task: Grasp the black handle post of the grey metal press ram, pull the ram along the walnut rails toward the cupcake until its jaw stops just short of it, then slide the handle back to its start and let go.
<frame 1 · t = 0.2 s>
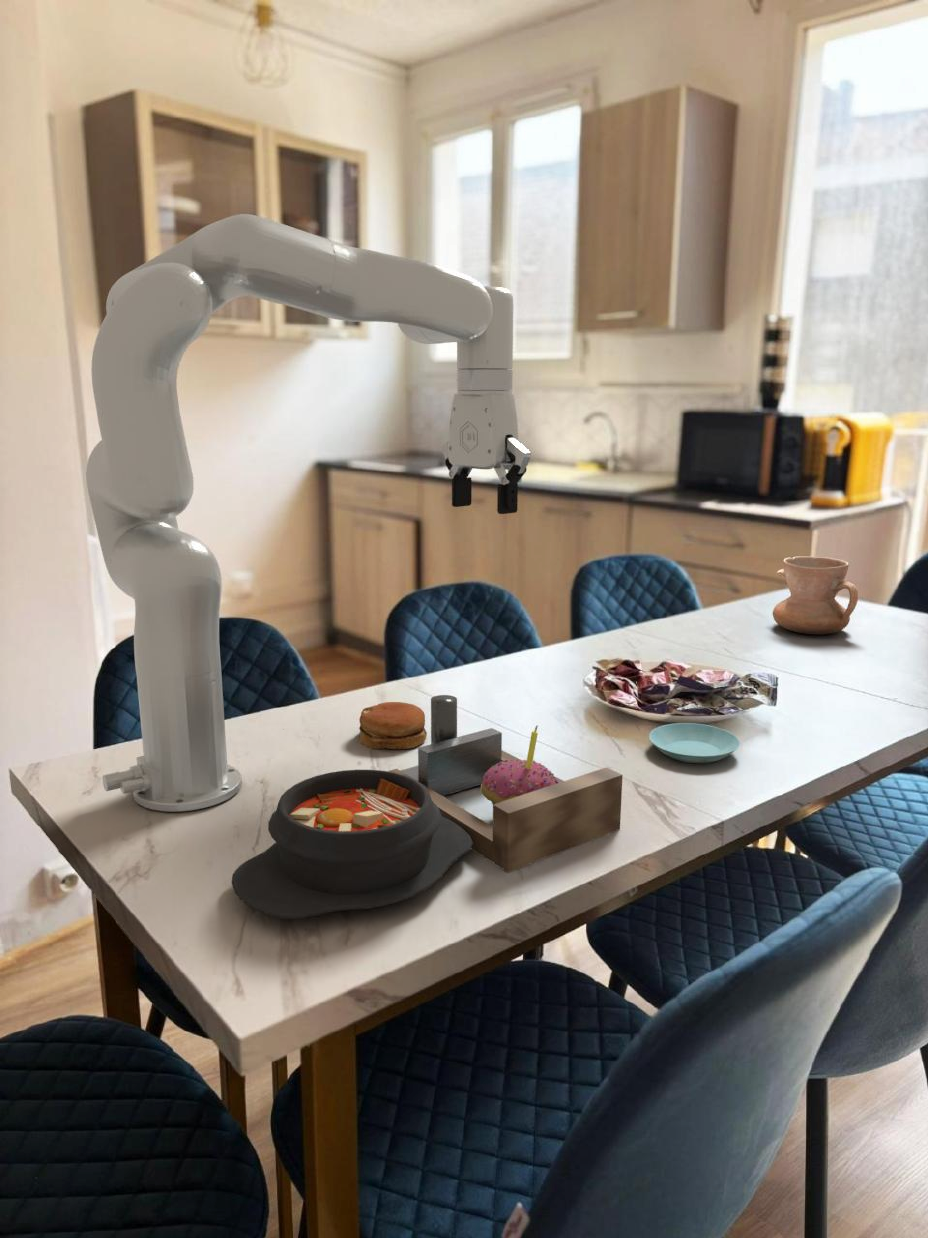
hand: (483, 509, 130), 31 cm above the table, tool pointing down, fingers open, 9 cm apart
casserole: (357, 877, 93), on the table
burger: (392, 741, 129), on the table
ram: (448, 740, 113), point 5 cm above the table, slide at 0.0 cm
saucer: (692, 755, 124), on the table
press bed: (496, 809, 107), on the table
ceramic jug: (811, 632, 186), on the table
cupcake: (518, 823, 104), resting in press bed
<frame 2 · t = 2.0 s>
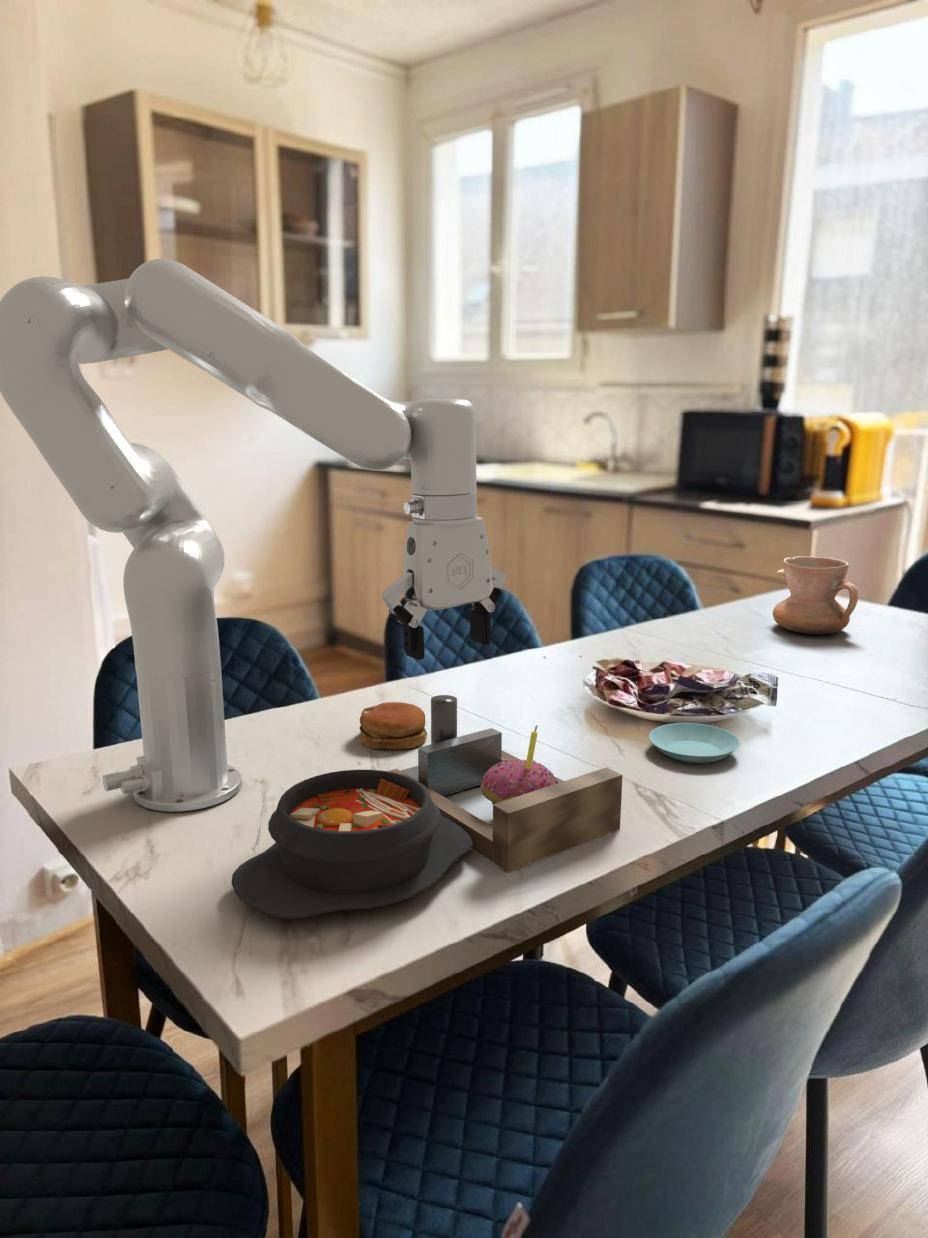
hand: (448, 649, 112), 17 cm above the table, tool pointing down, fingers open, 9 cm apart
nothing on the table moved.
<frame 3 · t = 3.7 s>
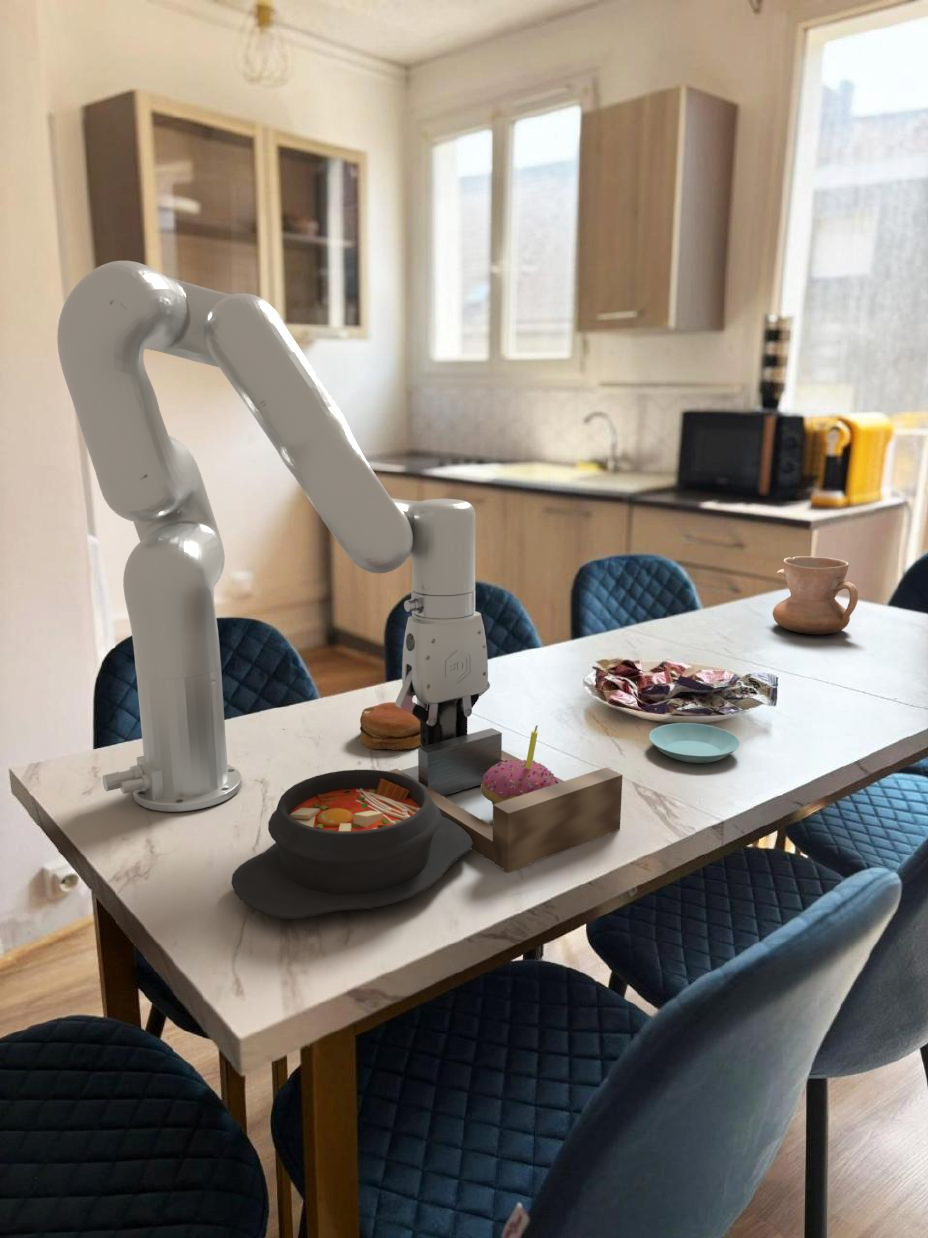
hand: (444, 747, 115), 4 cm above the table, tool pointing down, fingers closed on ram, 3 cm apart
ram: (448, 740, 113), point 5 cm above the table, slide at 0.0 cm, touching gripper
everything else where it was.
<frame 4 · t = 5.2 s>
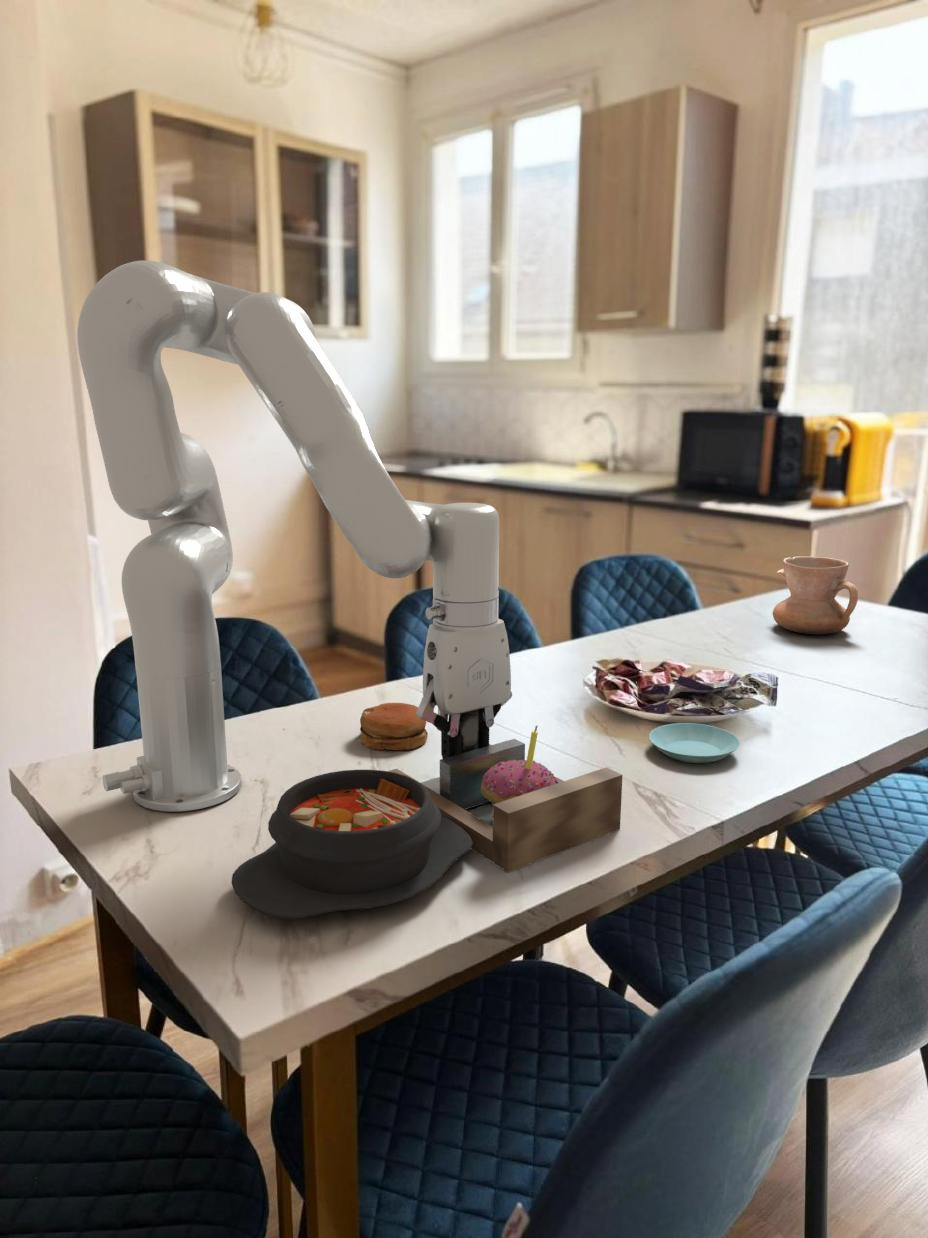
hand: (465, 758, 111), 4 cm above the table, tool pointing down, fingers closed on ram, 3 cm apart
ram: (470, 752, 110), point 5 cm above the table, slide at 4.4 cm, touching gripper
everything else where it was.
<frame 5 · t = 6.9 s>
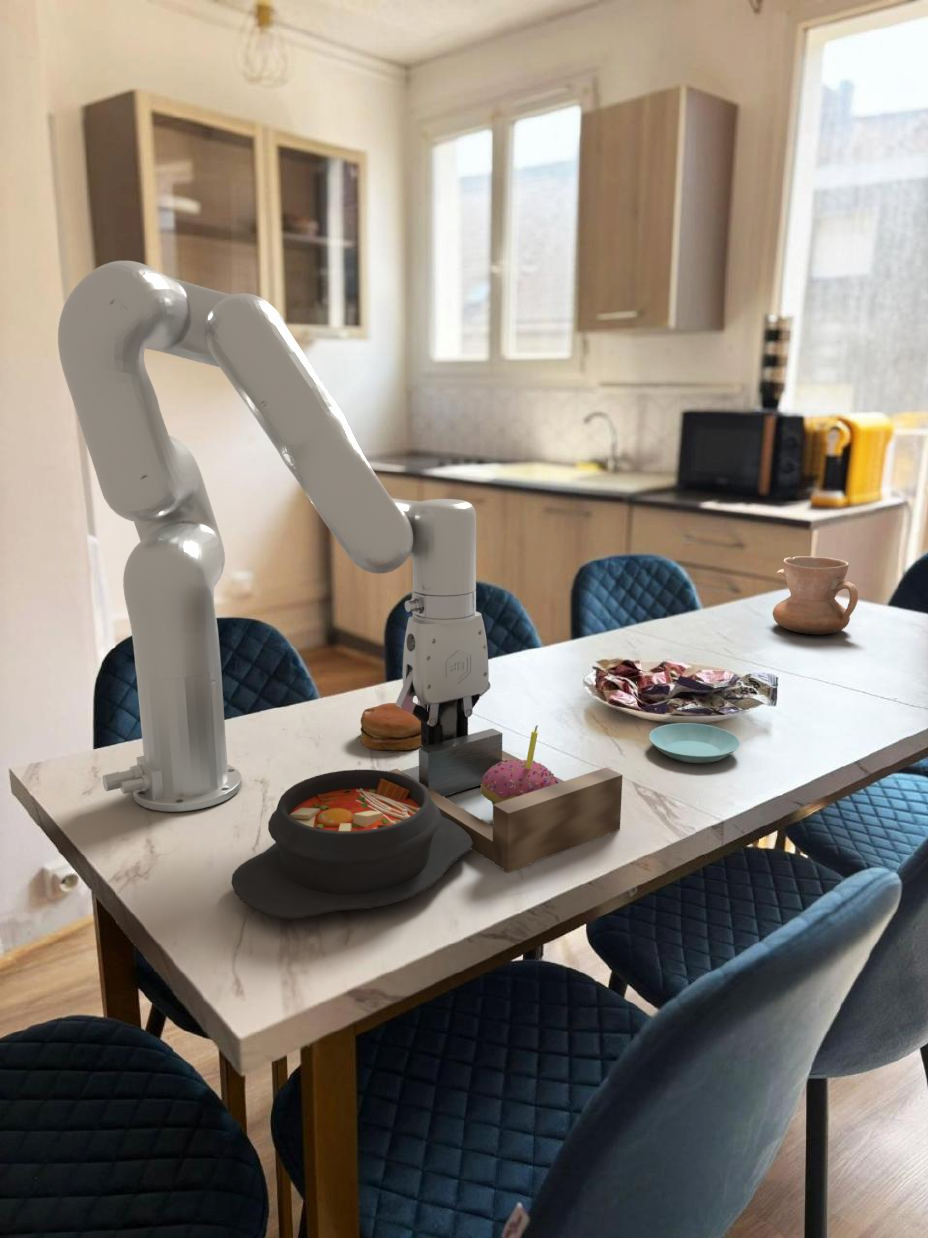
hand: (444, 747, 114), 4 cm above the table, tool pointing down, fingers closed on ram, 3 cm apart
ram: (449, 741, 113), point 5 cm above the table, slide at 0.1 cm, touching gripper
everything else where it was.
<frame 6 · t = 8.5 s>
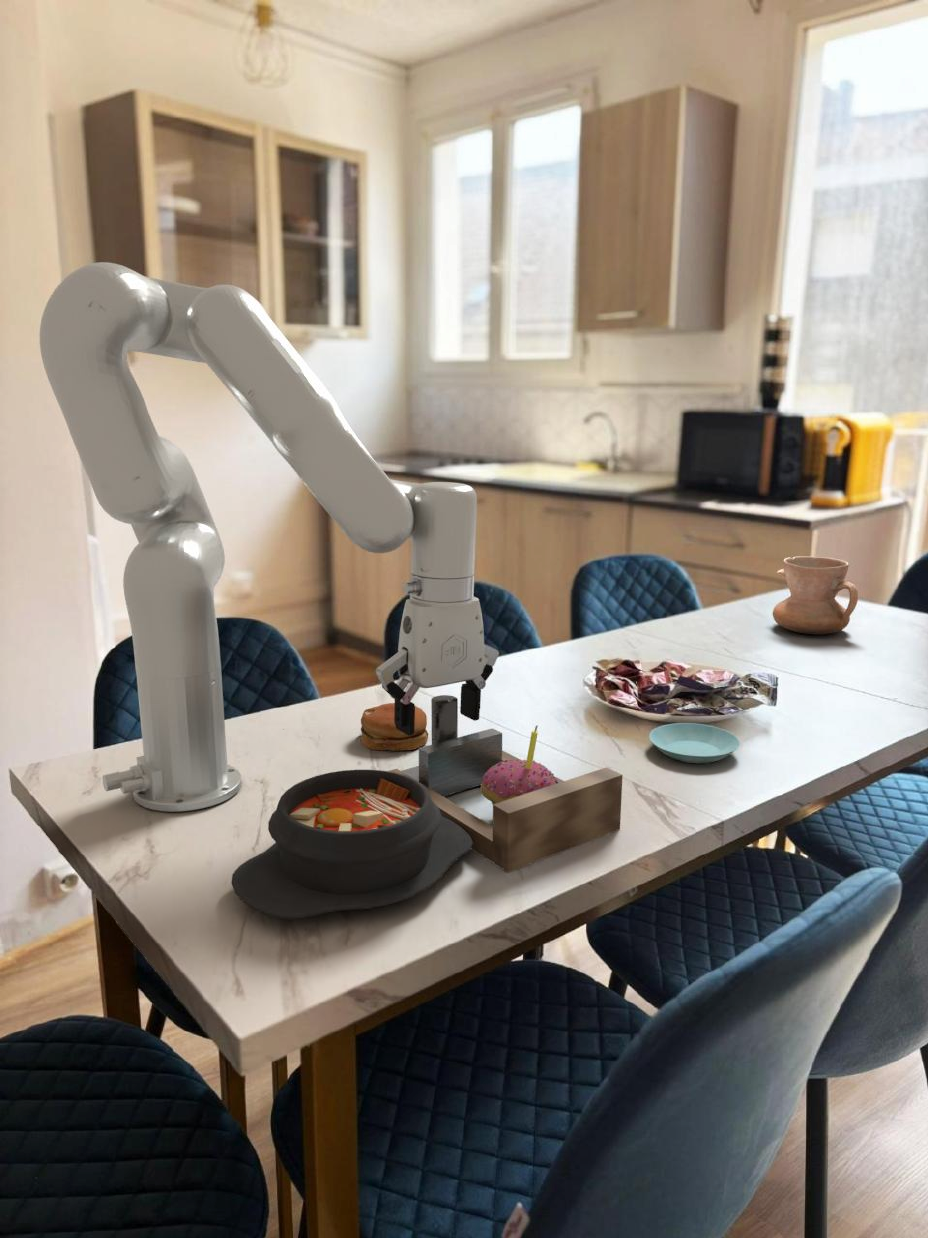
hand: (437, 724, 114), 7 cm above the table, tool pointing down, fingers open, 9 cm apart
ram: (449, 741, 113), point 5 cm above the table, slide at 0.1 cm
everything else where it was.
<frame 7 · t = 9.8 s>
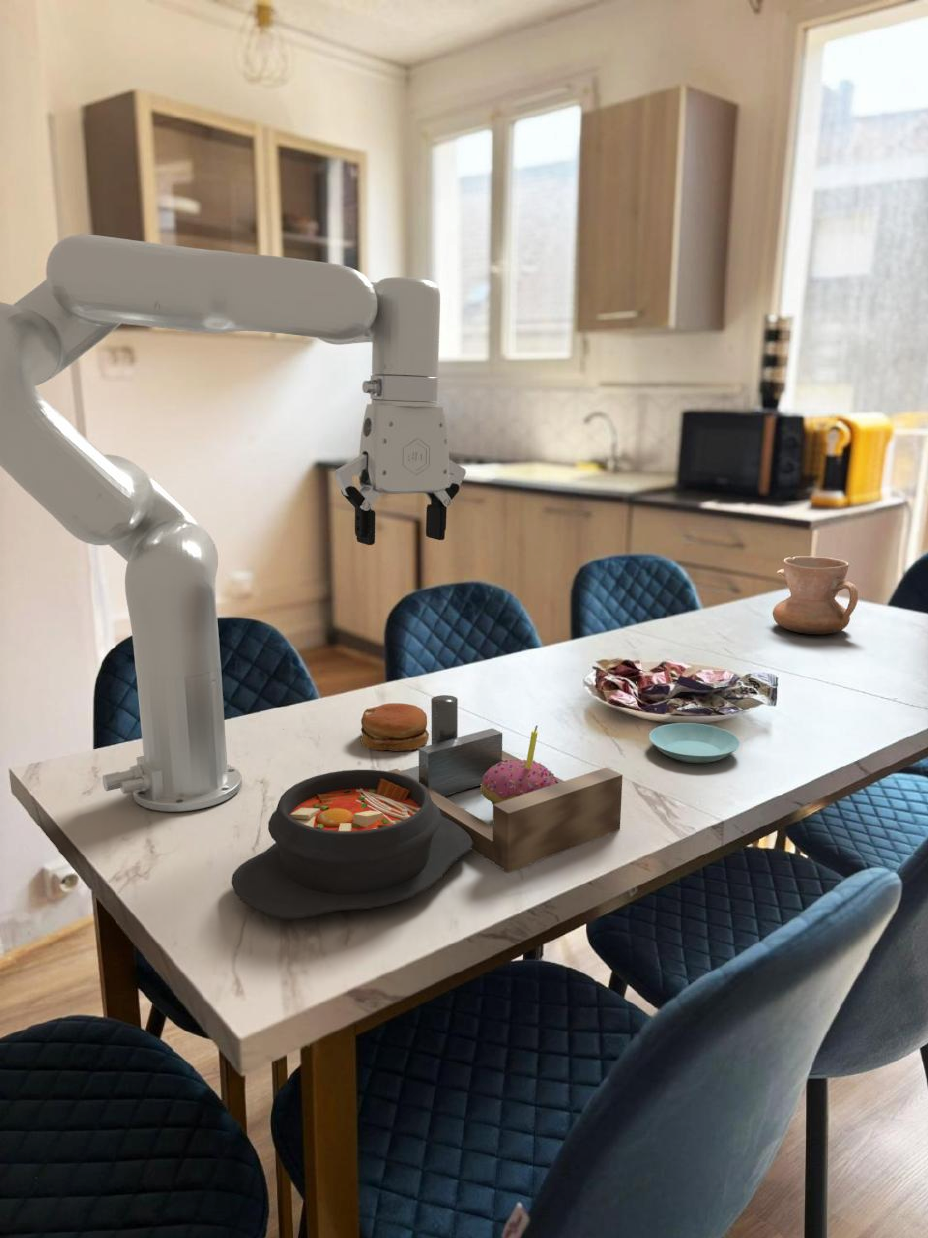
hand: (401, 540, 110), 30 cm above the table, tool pointing down, fingers open, 9 cm apart
nothing on the table moved.
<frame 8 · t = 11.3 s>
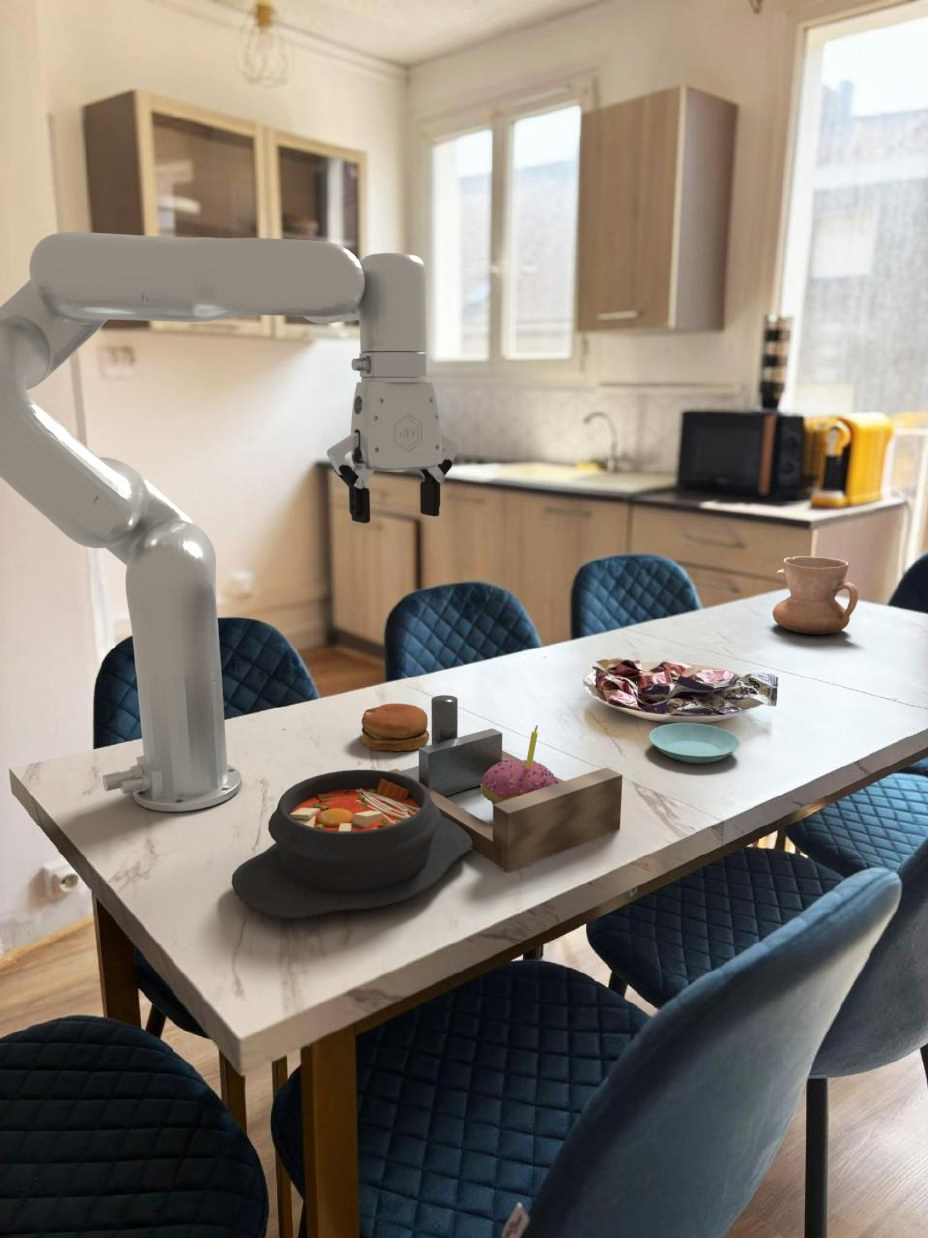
hand: (396, 518, 110), 32 cm above the table, tool pointing down, fingers open, 9 cm apart
nothing on the table moved.
at the end: ram slide at 0.1 cm; cupcake moved 0.2 cm from its start; the gripper is holding nothing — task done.
